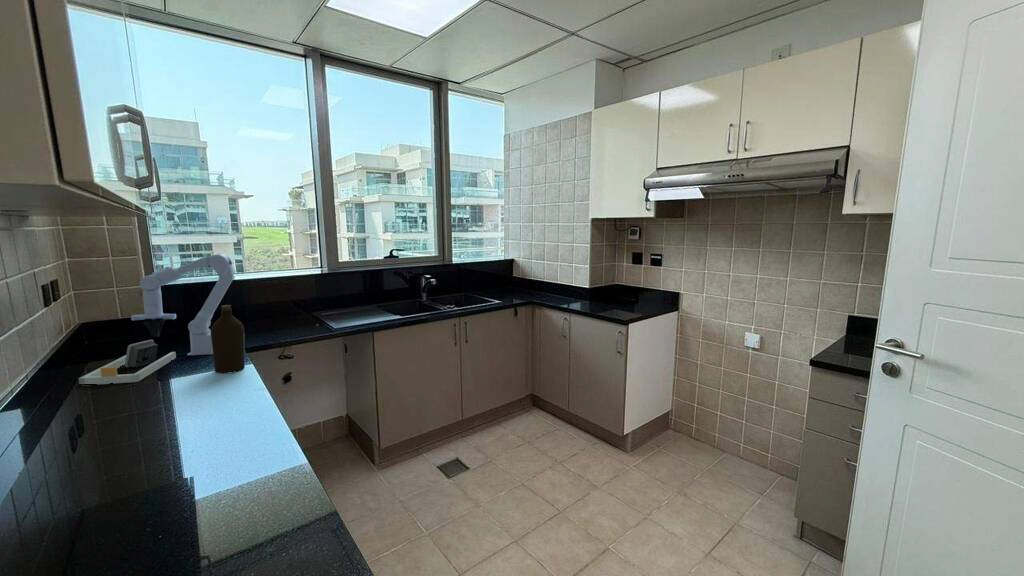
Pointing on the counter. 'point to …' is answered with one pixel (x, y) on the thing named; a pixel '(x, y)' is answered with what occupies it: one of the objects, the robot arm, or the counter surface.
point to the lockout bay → (109, 374)
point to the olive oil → (227, 342)
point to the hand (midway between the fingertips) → (155, 336)
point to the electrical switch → (141, 353)
